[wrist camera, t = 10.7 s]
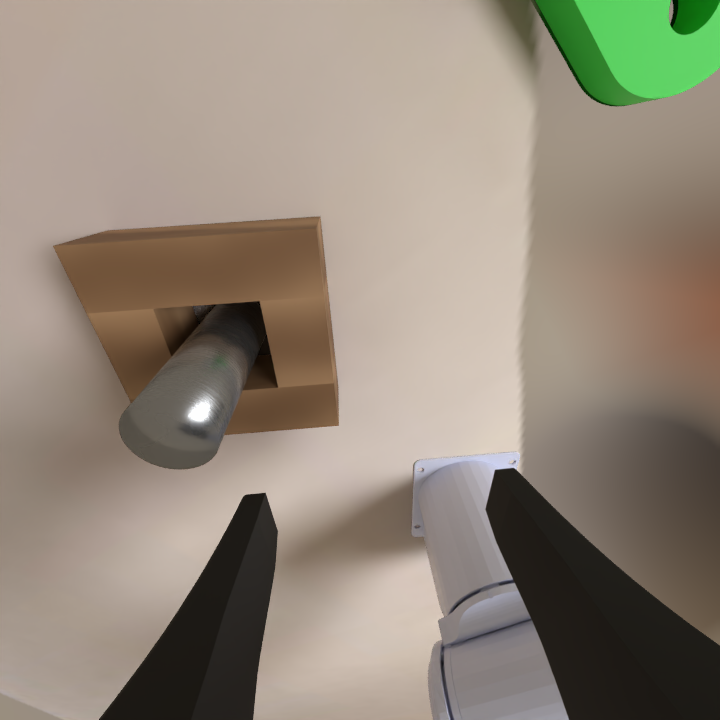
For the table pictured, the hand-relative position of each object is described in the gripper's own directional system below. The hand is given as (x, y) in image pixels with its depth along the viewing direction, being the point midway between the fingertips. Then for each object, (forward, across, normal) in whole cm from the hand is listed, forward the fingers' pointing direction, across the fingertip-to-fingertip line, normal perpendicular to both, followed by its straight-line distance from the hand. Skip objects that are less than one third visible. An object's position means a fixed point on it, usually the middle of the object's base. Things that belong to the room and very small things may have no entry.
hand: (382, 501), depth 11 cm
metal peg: (+11, +6, -2) cm, 13 cm away
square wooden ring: (+11, +6, -2) cm, 13 cm away
